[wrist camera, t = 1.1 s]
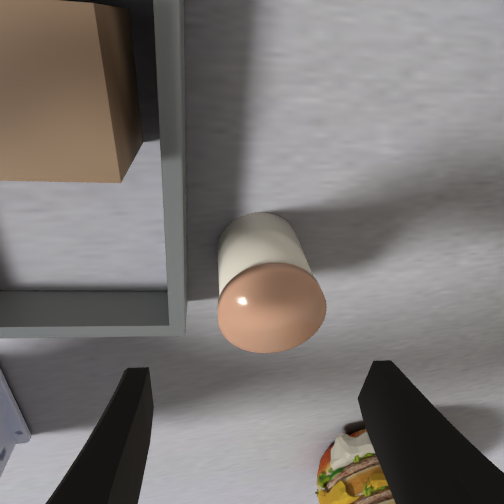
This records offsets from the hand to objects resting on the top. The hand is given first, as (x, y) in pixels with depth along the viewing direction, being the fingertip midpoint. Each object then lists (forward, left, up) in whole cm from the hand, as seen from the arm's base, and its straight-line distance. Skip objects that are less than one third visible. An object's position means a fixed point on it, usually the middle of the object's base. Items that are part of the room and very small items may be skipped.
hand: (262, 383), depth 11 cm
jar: (-1, -1, -10) cm, 10 cm away
